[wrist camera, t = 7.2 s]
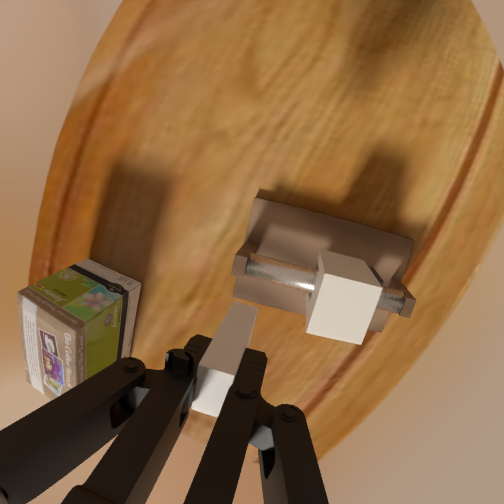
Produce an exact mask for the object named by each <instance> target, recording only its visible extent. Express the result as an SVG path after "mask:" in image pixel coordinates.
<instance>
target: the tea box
mask: <svg viewBox="0 0 504 504" xmlns="http://www.w3.org/2000/svg"><path fill="white" fill-rule="evenodd" d="M140 289H141V283H140V282H138V281H136V280H134V279H131V278H129V277H127V276H125V275H123V274H120V273H118V272H116V271H114V270H112V269H110V268H108V267H105V266H103V265H101V264H99V263H97V262H95V261H93V260H90V259H86V260H84V261H81V262H79V263H77V264H74V265H72V266H70V267H68V268H66V269H63V270H61V271H59V272H57V273H55V274H53V275H51V276H49V277H47V278H44V279H42V280H40V281H38V282H36V283H34V284H32V285H30V286H28V287H26V288H24V289H22V290H20V291H18V292H17V304H18V318H19V328H20V337H21V347H22V354H23V361H24V367H25V372H26V379H27V382H28V383H29V384H31V385H32V386H33V387H35V388H36V389H37V390H39V391H40V392H41V393H42V394H44V395H45V396H47V397H48V398H49V399H51V400H53V399H55V398H57V397H58V396H60V395H62V394H63V393H65V392H67V391H68V390H70V389H72V388H73V387H75V386H77V385H78V384H80V383H82V382H83V381H85V380H86V379H88V378H90V377H91V376H93V375H95V374H96V373H98V372H100V371H101V370H103V369H104V368H106V367H108V366H109V365H111V364H113V363H114V362H116V361H117V360H119V359H121V358H124V357H129V355H130V348H131V341H132V335H133V329H134V323H135V317H136V311H137V305H138V300H139V295H140Z"/></svg>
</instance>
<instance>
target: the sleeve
mask: <svg viewBox="0 0 504 504" xmlns="http://www.w3.org/2000/svg"><path fill="white" fill-rule="evenodd" d="M317 262H318V268H319V272H318V275H317V278H316V282H315V285H314V288H313V292H312V293H308V292H307V293H306V333H310V334H314V335H318V336H323V337H327V338H332V339H336V340H341V341H345V342H350V343H355V344H359V345H361V343H362V341H363V339H364V336H365V334H366V331H367V329H368V326H369V324H370V321H371V319H372V316H373V313H374V311H375V308H376V305H377V303H378V300H379V297H380V294H381V292H382V289H383V287H382V286H381V284H380V283H379V282H378V280H377V279H376V277H375V276H374V274H373V273H372V271H371V270H370V268H369V267H368V266H367V264H366V263H365V261H364V260H361V259H358V258H354V257H350V256H346V255H342V254H338V253H335V252H331V251H327V250H323V249H319V251H318V254H317Z"/></svg>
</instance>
